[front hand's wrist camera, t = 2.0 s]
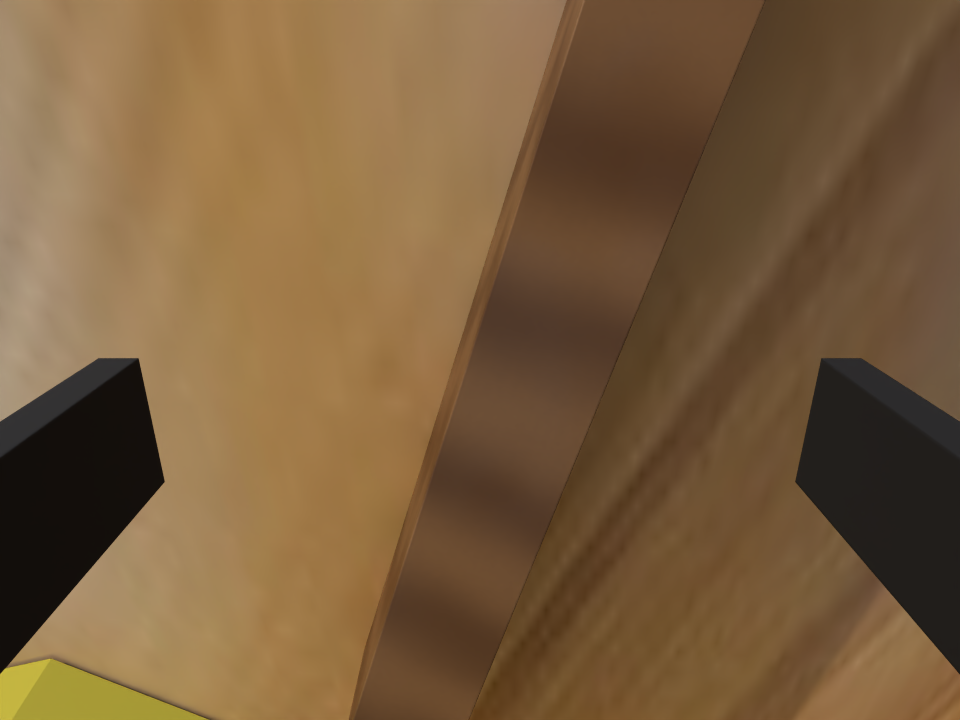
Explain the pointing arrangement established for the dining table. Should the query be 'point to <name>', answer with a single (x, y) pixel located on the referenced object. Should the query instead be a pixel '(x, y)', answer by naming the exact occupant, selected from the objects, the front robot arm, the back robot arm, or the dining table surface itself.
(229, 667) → the dining table surface
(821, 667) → the dining table surface
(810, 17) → the dining table surface
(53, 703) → the crown
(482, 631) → the beam
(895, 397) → the front robot arm
